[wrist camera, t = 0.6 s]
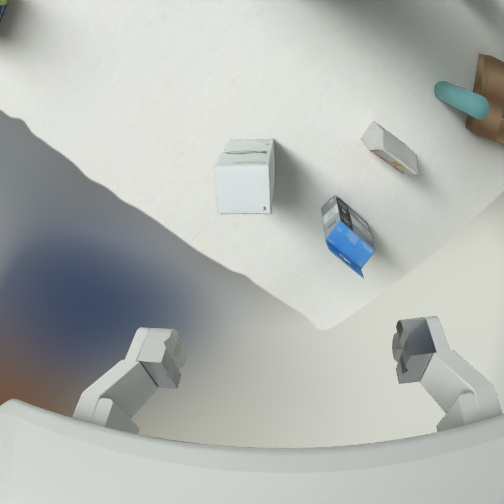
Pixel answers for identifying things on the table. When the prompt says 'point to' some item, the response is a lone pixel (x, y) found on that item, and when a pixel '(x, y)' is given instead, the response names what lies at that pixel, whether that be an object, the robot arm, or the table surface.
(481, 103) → the peg
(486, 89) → the socket block
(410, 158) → the white carton
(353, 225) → the label tape box
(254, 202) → the supplement box
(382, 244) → the table surface
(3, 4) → the protein box
